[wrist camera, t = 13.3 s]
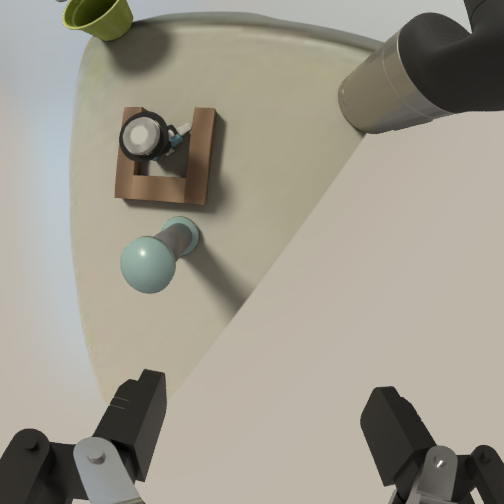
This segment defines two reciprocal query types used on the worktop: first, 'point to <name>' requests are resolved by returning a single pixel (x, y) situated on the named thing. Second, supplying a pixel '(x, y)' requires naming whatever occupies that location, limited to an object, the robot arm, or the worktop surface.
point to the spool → (158, 255)
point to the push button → (149, 137)
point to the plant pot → (99, 17)
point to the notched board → (171, 187)
